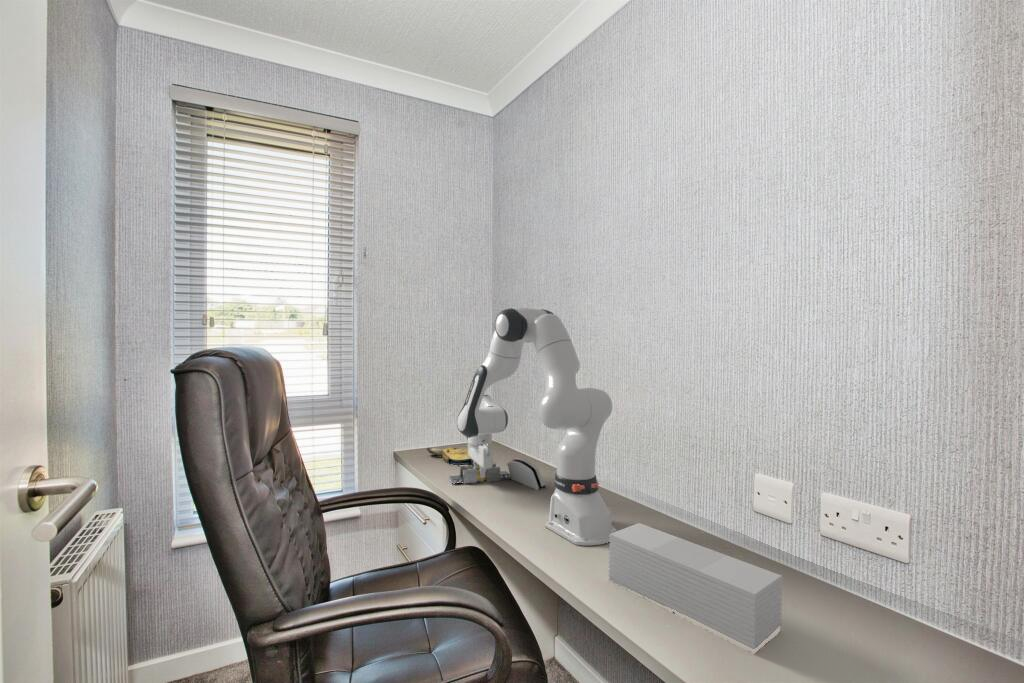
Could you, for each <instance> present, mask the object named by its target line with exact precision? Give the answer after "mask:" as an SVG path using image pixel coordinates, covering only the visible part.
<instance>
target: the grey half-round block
mask: <svg viewBox="0 0 1024 683" xmlns="http://www.w3.org/2000/svg"><path fill="white" fill-rule="evenodd" d="M507 469H508V473H509V479H511V480H514V481H516V482H518V483H521V484H523V485H525V486H527V487H528V488H529V487H530V488H532V489H534V490H536V491H537V490H540V487H541V488H543V487H544V488H548V486H547V482H544V481H543V478H542V475H541V473H540V471H539V468H538V467H537V466H536V465H535V464H533V463H532V462H530V461H529V460H526V459H525V458H519V457H518V458H513V459H512V460H511V461H509V462H508V463H507Z"/></svg>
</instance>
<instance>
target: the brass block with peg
mask: <svg viewBox="0 0 1024 683" xmlns="http://www.w3.org/2000/svg"><path fill="white" fill-rule="evenodd" d="M484 480H486V472H485V477H484V478H481V477H480V470H477V481H480V482H485V481H484Z"/></svg>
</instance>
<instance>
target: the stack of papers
mask: <svg viewBox="0 0 1024 683" xmlns="http://www.w3.org/2000/svg"><path fill="white" fill-rule="evenodd" d="M609 538H610V539H609V542H610V543H608V546H609V548H608V551H609V554H608V555H609V556H608V559H609V561H608V564H609V565H608V568H609V569H608V581H609V580H610V581H612V582H614V583H616V584H618V585H620V586H623V587H625V588H627V589H630V590H631V591H634V592H636V593H638V594H640V595H642V596H644V597H647V598H648V599H651V600H653V601H655V602H657V603H659V604H661V605H663V606H666V607H669V608H671V609H674V610H676V611H677V612H679V613H681V614H684V615H686V616H688V617H690V618H692V619H694V620H696V621H698V622H700V623H702V624H704V625H706V626H708V627H710V628H712V629H714V630H716V631H718V632H720V633H722V634H724V635H726V636H728V637H730V638H732V639H734V640H736V641H738V642H740V643H742V644H744V645H746V646H748V647H750V648H752V649H755V648H757V647H758V646H759V645H760V644H761V643H762V642H763V641H764V640H765V639H767V638H768V637H769V636H770V635H771V634H772V633H773V632H774V631H775V630H776V629H777V628H778V627H779V626H781V627H782V605H783V604H782V602H783V601H782V600H783V599H782V595H783V592H782V590H783V587H782V586H783V575H781V574H778V573H776V572H773V571H770V570H768V569H765V568H761V567H759V566H757V565H754V564H751V563H749V562H747V561H743V560H740V559H738V558H735V557H732V556H729V555H727V554H724V553H721V552H719V551H715V550H713V549H710V548H708V547H705V546H702V545H700V544H697V543H694V542H691V541H689V540H686V539H683V538H681V537H678V536H676V535H672V534H669V533H667V532H665V531H662V530H659V529H656V528H653V527H652V526H649V525H645V524H643V523H640V522H638V523H636V524H633V525H630V526H626V527H624V528H621V529H620V530H617V531H616V532H614V533H611V534H610V536H609ZM610 581H609V582H610ZM612 582H611V583H612ZM614 583H613V584H614ZM616 584H615V585H616ZM618 585H617V586H618ZM620 586H619V587H620Z"/></svg>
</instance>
